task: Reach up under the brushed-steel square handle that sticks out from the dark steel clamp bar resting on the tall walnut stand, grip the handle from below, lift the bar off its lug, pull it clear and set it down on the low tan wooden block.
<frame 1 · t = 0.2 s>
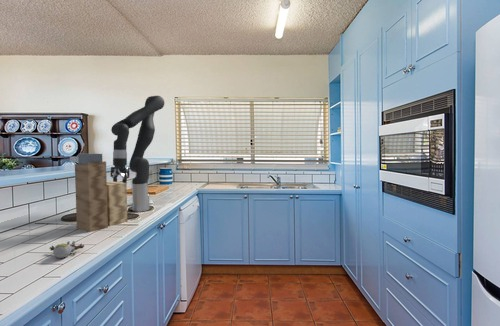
hand: (119, 184, 179), 18 cm above the counter, tool pointing down, fingers open, 8 cm apart
tan wooden block: (112, 222, 163), on the counter
toy 2: (65, 254, 116), on the counter
clamp bar: (90, 163, 149), point 32 cm above the counter, touching stand
stand: (92, 227, 151), on the counter
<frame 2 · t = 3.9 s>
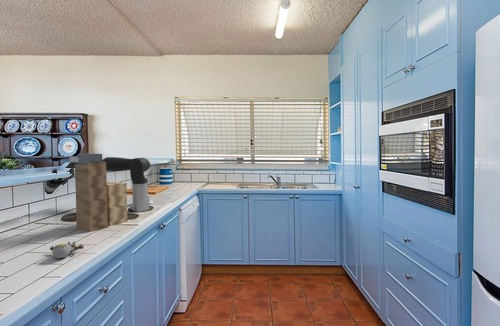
hand: (64, 169, 163), 28 cm above the counter, tool pointing upward, fingers open, 8 cm apart
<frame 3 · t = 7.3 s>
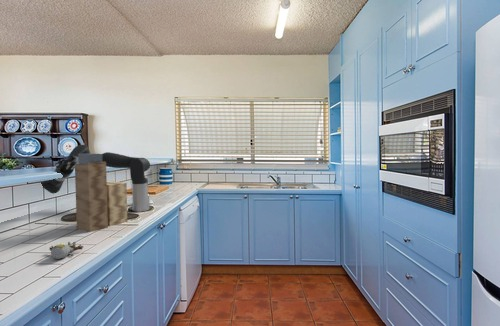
hand: (76, 156, 156), 35 cm above the counter, tool pointing upward, fingers closed on clamp bar, 2 cm apart
clamp bar: (90, 163, 149), point 32 cm above the counter, touching gripper, stand
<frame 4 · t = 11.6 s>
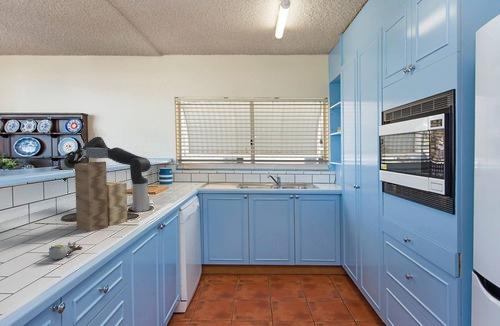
hand: (83, 149, 173), 39 cm above the counter, tool pointing upward, fingers closed on clamp bar, 2 cm apart
clamp bar: (96, 157, 166), point 34 cm above the counter, touching gripper
when the fingers open (26 cm above the counter, at t = 16.1 s): clamp bar stays where it is, resting on tan wooden block.
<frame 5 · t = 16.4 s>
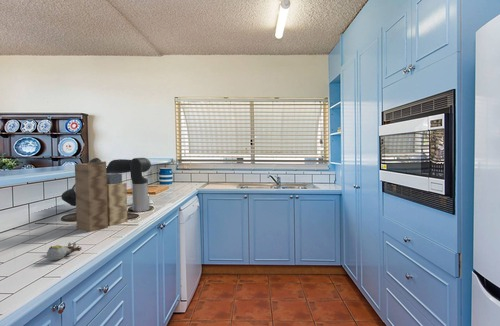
hand: (97, 173, 168), 25 cm above the counter, tool pointing upward, fingers open, 5 cm apart
clamp bar: (110, 183, 161), point 21 cm above the counter, touching tan wooden block
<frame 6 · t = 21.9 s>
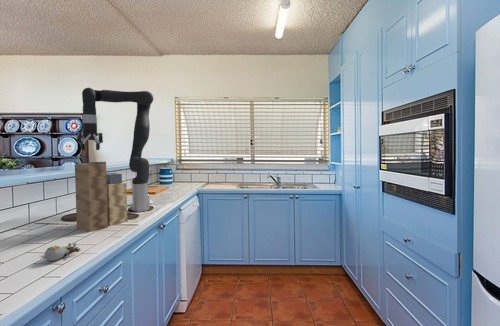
hand: (90, 150, 180), 38 cm above the counter, tool pointing down, fingers open, 8 cm apart
at the end: clamp bar inside the target area on the tan wooden block (0.2 cm from its centre), point 21.0 cm above the tan wooden block's base; the gripper is holding nothing; clamp bar tilted 0° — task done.
